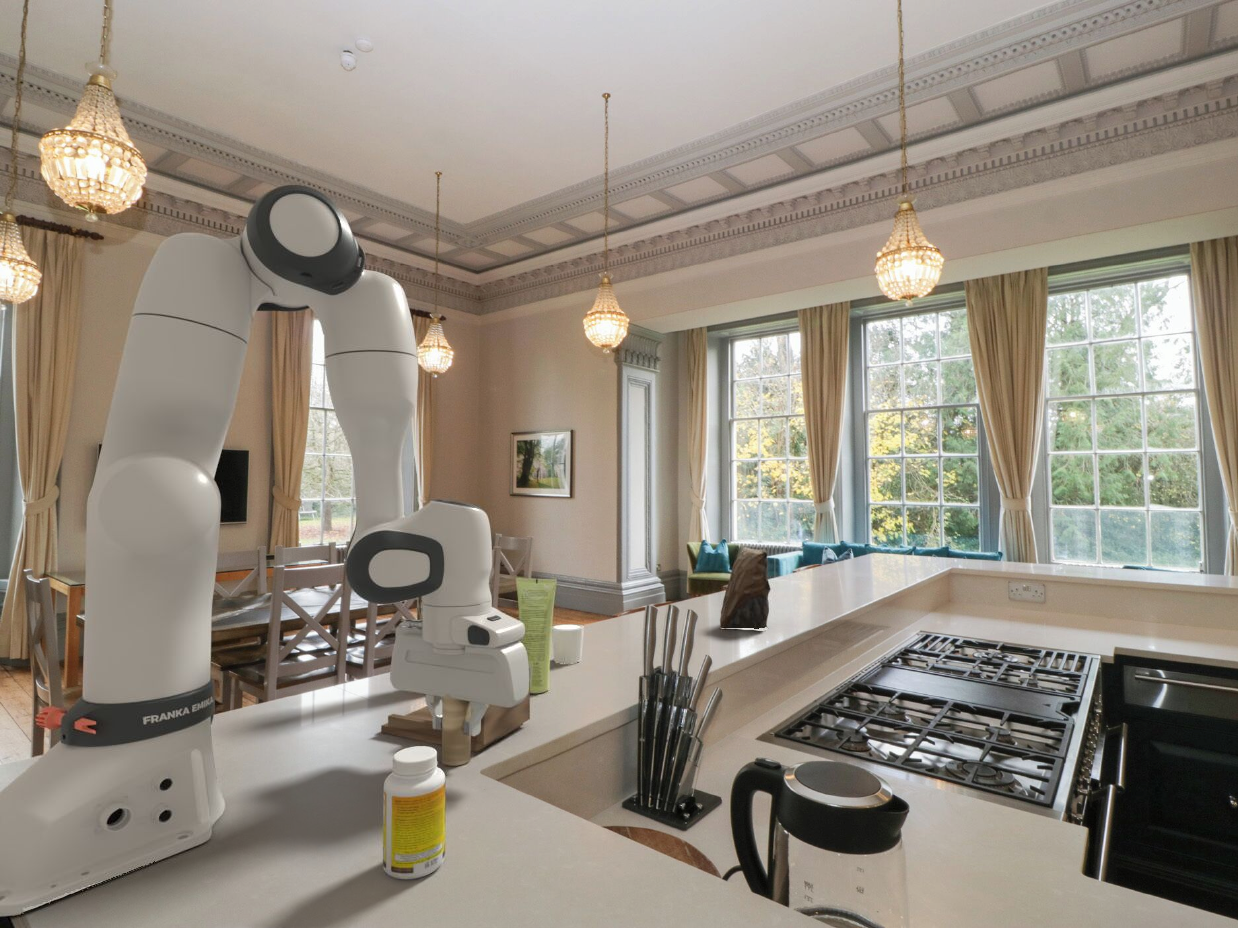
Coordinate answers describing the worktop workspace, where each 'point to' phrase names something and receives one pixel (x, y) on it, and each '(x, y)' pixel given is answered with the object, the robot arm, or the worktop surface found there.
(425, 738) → the wooden tray
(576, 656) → the white short cylinder
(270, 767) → the worktop surface
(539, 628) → the tube
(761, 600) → the brown rock
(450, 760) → the dowel
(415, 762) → the supplement bottle
